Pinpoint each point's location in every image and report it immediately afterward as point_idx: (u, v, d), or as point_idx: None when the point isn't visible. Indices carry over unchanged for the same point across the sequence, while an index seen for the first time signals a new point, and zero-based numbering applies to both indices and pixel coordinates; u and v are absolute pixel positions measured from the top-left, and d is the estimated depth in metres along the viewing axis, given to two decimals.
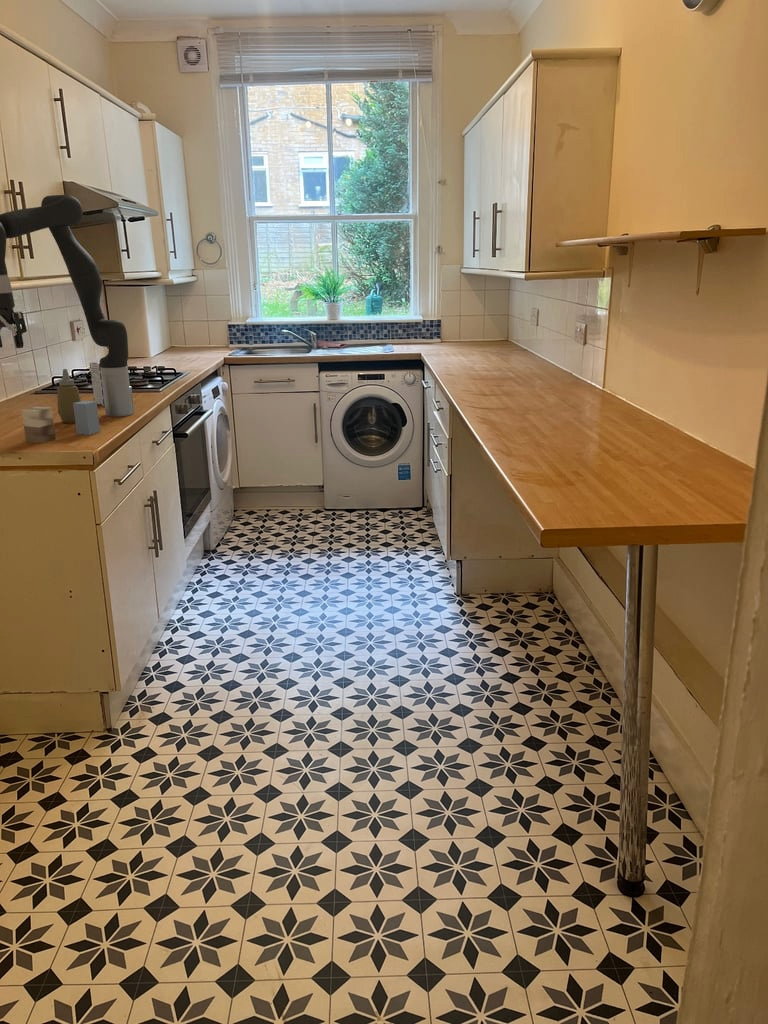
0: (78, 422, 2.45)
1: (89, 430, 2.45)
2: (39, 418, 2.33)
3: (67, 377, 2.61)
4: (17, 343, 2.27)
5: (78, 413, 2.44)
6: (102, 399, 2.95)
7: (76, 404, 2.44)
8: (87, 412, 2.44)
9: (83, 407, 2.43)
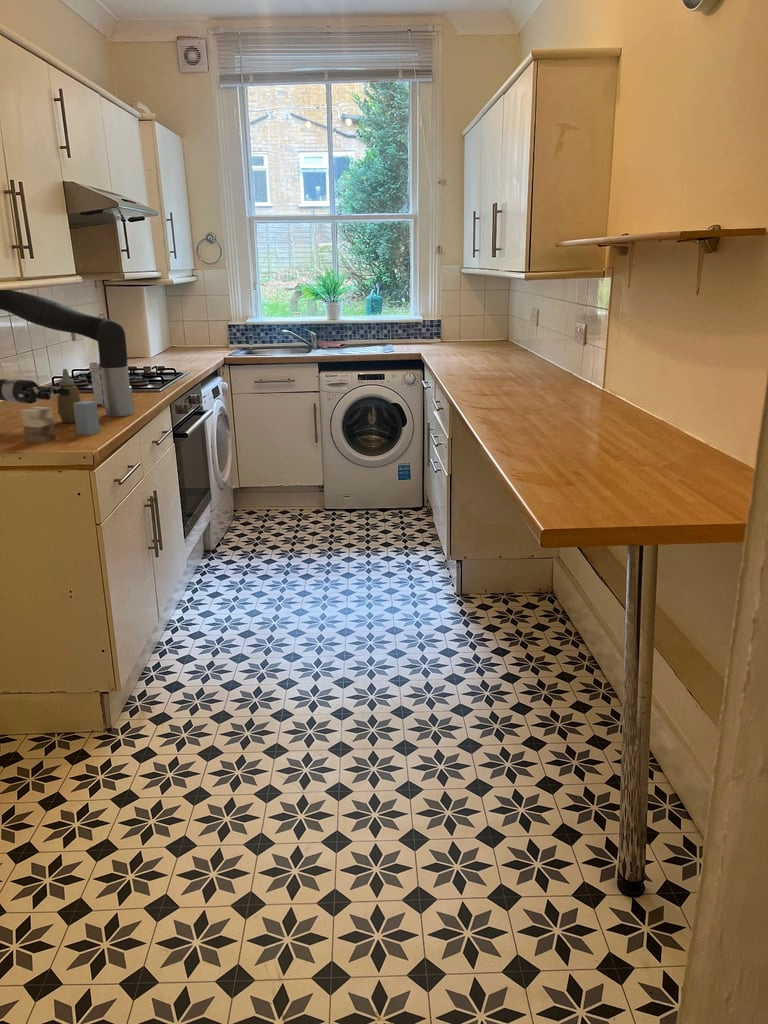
0: (78, 422, 2.45)
1: (89, 430, 2.45)
2: (39, 418, 2.33)
3: (67, 377, 2.61)
4: (45, 398, 2.45)
5: (78, 413, 2.44)
6: (102, 399, 2.95)
7: (76, 404, 2.44)
8: (87, 412, 2.44)
9: (83, 407, 2.43)
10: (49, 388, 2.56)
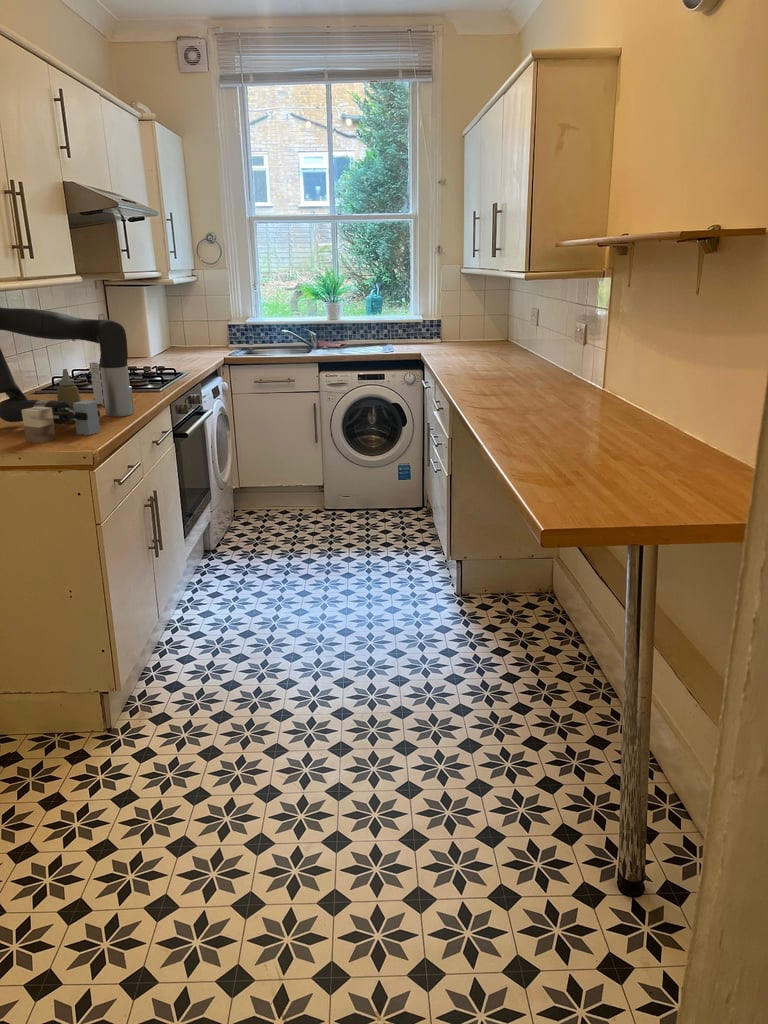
0: (78, 422, 2.45)
1: (89, 430, 2.45)
2: (39, 418, 2.33)
3: (67, 377, 2.61)
4: (82, 419, 2.44)
5: None
6: (102, 399, 2.95)
7: (76, 404, 2.44)
8: (87, 412, 2.44)
9: (83, 407, 2.43)
10: None
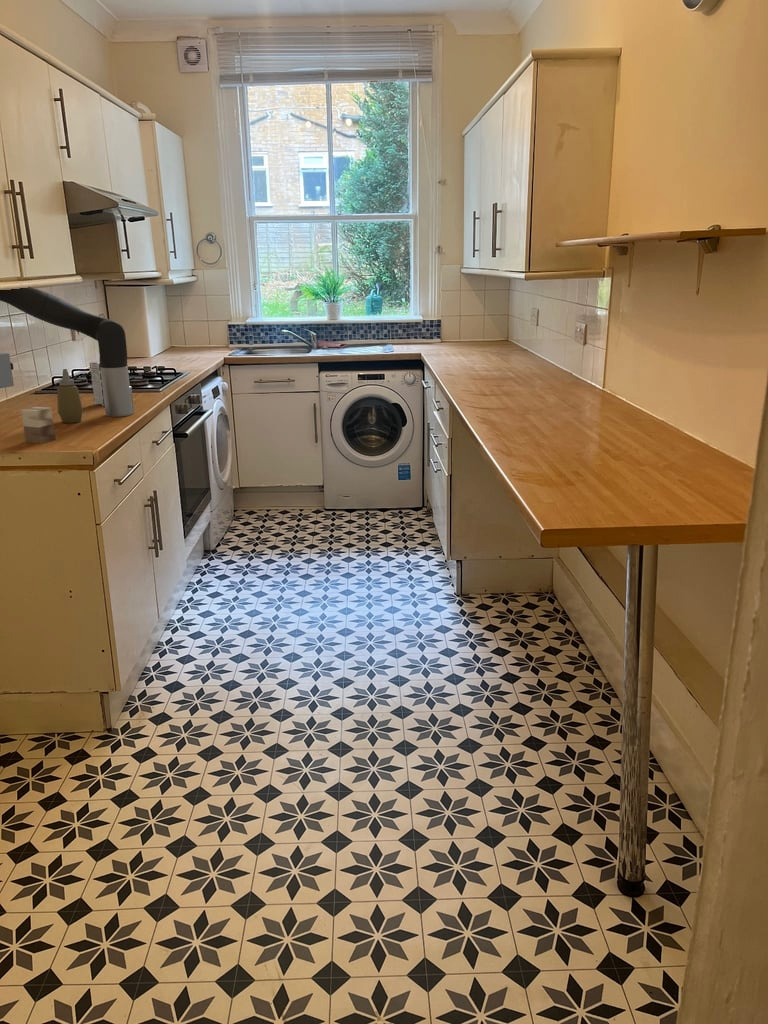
0: None
1: (1, 383, 2.35)
2: (39, 418, 2.33)
3: (67, 377, 2.61)
4: None
5: None
6: (102, 399, 2.95)
7: None
8: None
9: None
10: None
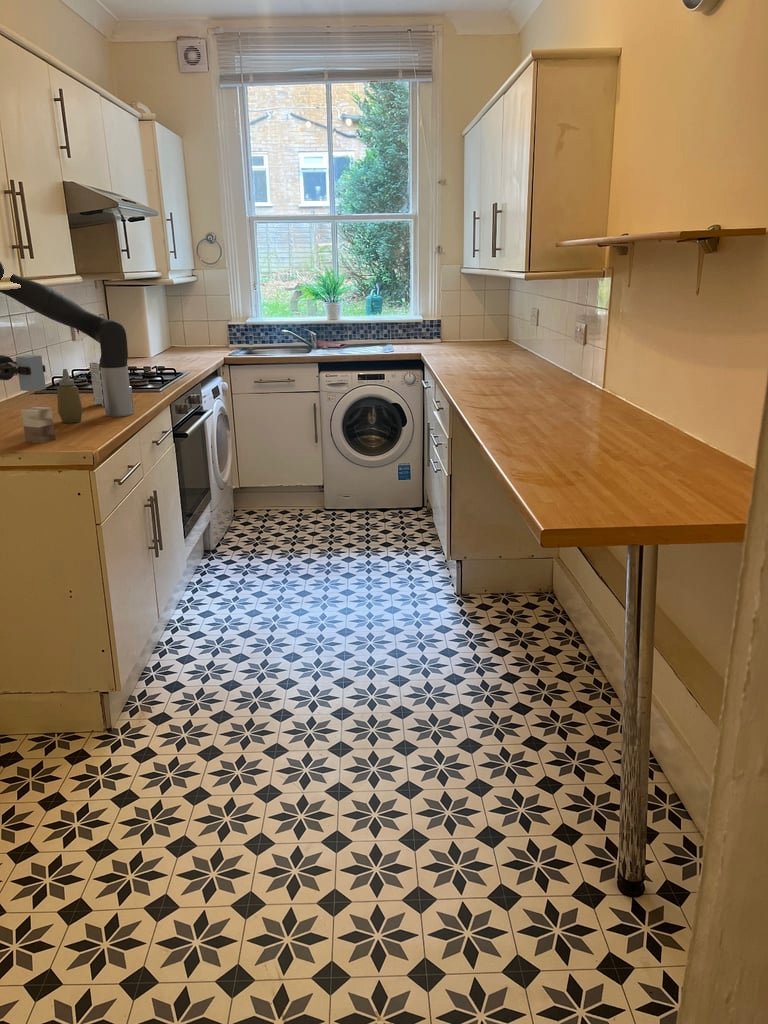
0: (21, 377, 2.30)
1: (33, 386, 2.30)
2: (39, 418, 2.33)
3: (67, 377, 2.61)
4: (25, 374, 2.28)
5: None
6: (102, 399, 2.95)
7: (19, 358, 2.28)
8: (31, 367, 2.28)
9: (26, 361, 2.28)
10: None
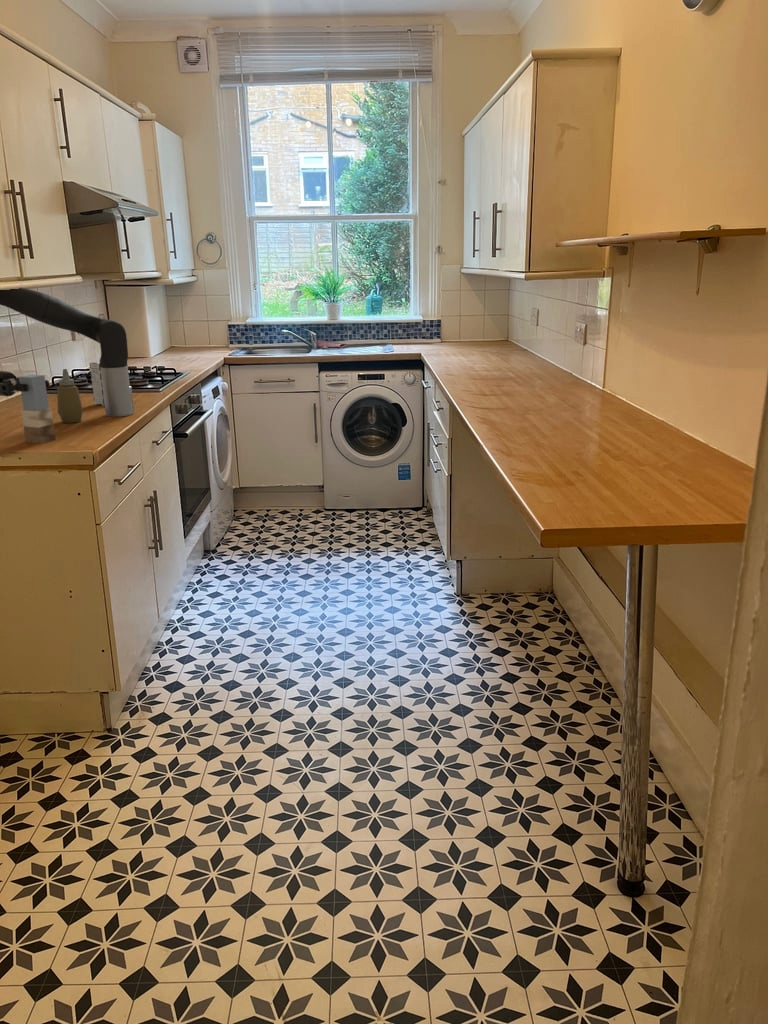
0: (25, 397, 2.32)
1: (36, 405, 2.32)
2: (39, 418, 2.33)
3: (67, 377, 2.61)
4: (23, 390, 2.29)
5: None
6: (102, 399, 2.95)
7: (22, 378, 2.30)
8: (34, 386, 2.30)
9: (29, 381, 2.30)
10: None
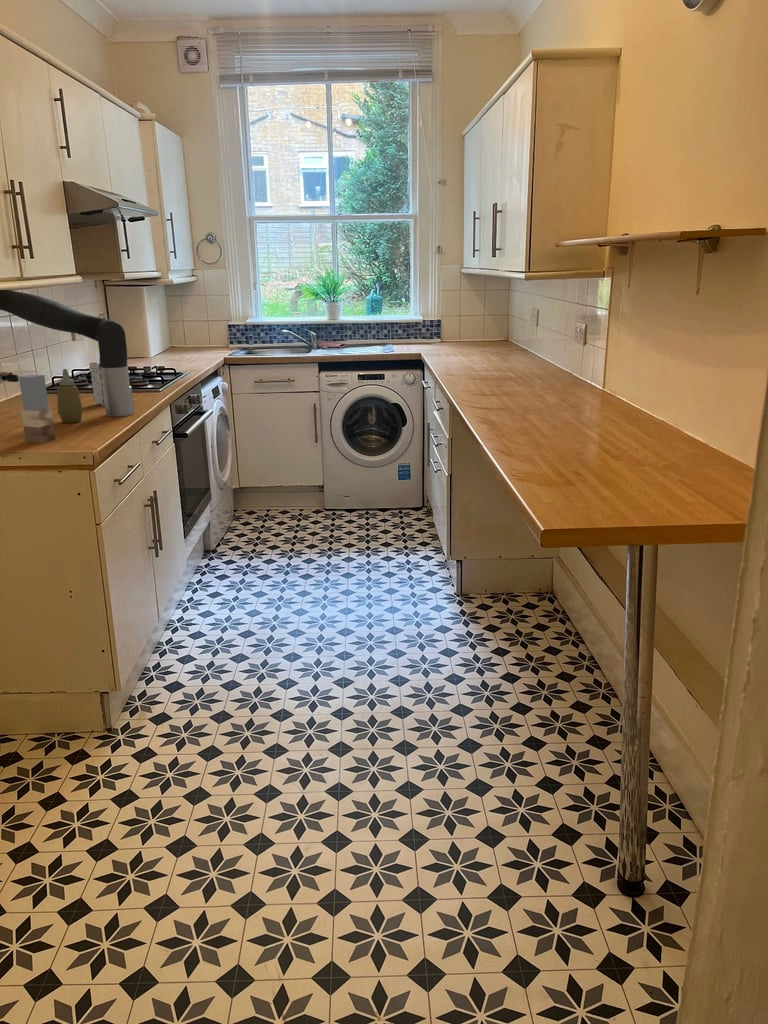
0: (24, 397, 2.32)
1: (36, 405, 2.32)
2: (39, 418, 2.33)
3: (67, 377, 2.61)
4: None
5: (25, 387, 2.31)
6: (102, 399, 2.95)
7: (22, 377, 2.30)
8: (34, 386, 2.30)
9: (29, 381, 2.30)
10: None
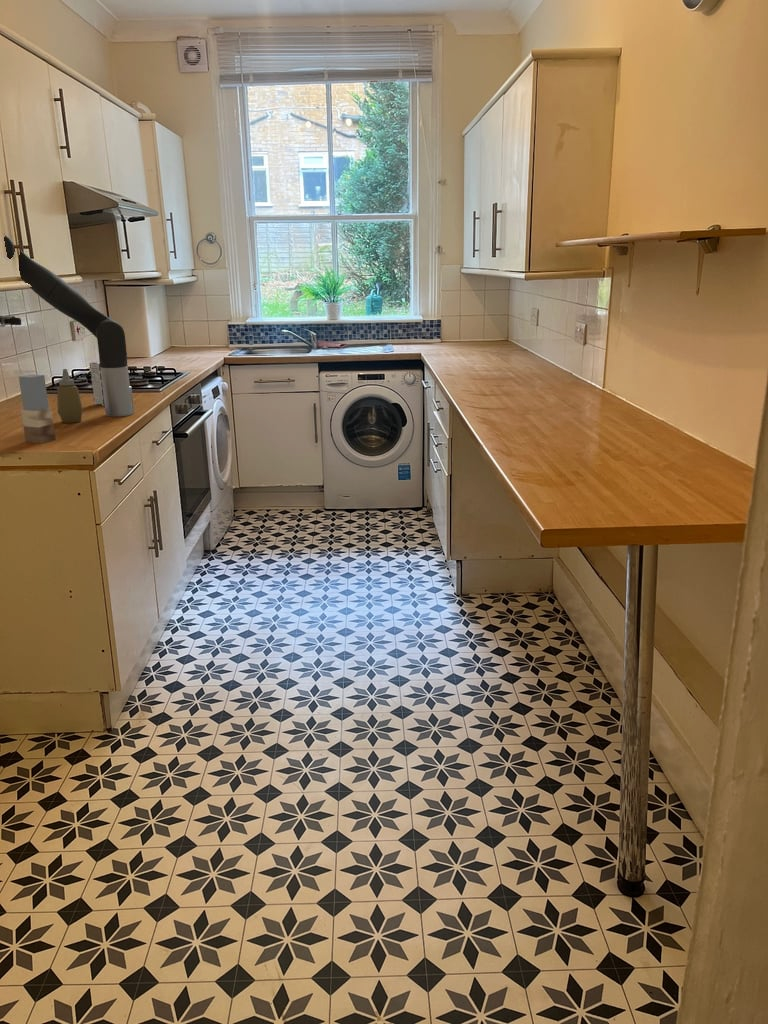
0: (24, 397, 2.32)
1: (36, 405, 2.32)
2: (39, 418, 2.33)
3: (67, 377, 2.61)
4: None
5: (25, 387, 2.31)
6: (102, 399, 2.95)
7: (22, 377, 2.30)
8: (34, 386, 2.30)
9: (29, 381, 2.30)
10: (1, 318, 2.44)
